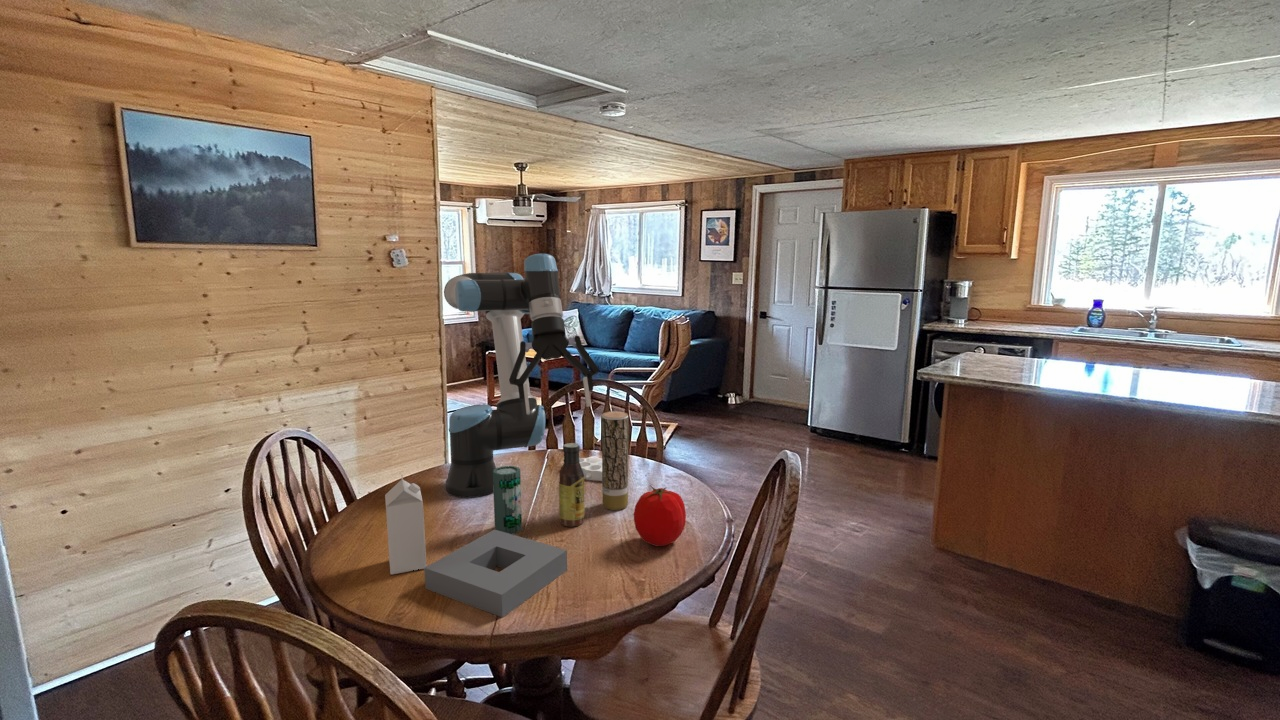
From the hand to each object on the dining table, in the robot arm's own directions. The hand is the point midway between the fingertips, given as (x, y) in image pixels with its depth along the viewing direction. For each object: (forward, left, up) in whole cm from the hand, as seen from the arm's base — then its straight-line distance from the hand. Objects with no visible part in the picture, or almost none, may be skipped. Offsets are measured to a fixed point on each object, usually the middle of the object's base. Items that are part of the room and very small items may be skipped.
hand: (558, 410), depth 138 cm
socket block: (0, -21, -31) cm, 37 cm away
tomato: (+21, +10, -31) cm, 39 cm away
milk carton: (-21, -26, -31) cm, 46 cm away
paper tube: (+1, +23, -31) cm, 39 cm away
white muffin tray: (-18, +42, -32) cm, 56 cm away
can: (-14, -2, -31) cm, 35 cm away
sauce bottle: (-3, +9, -31) cm, 33 cm away
